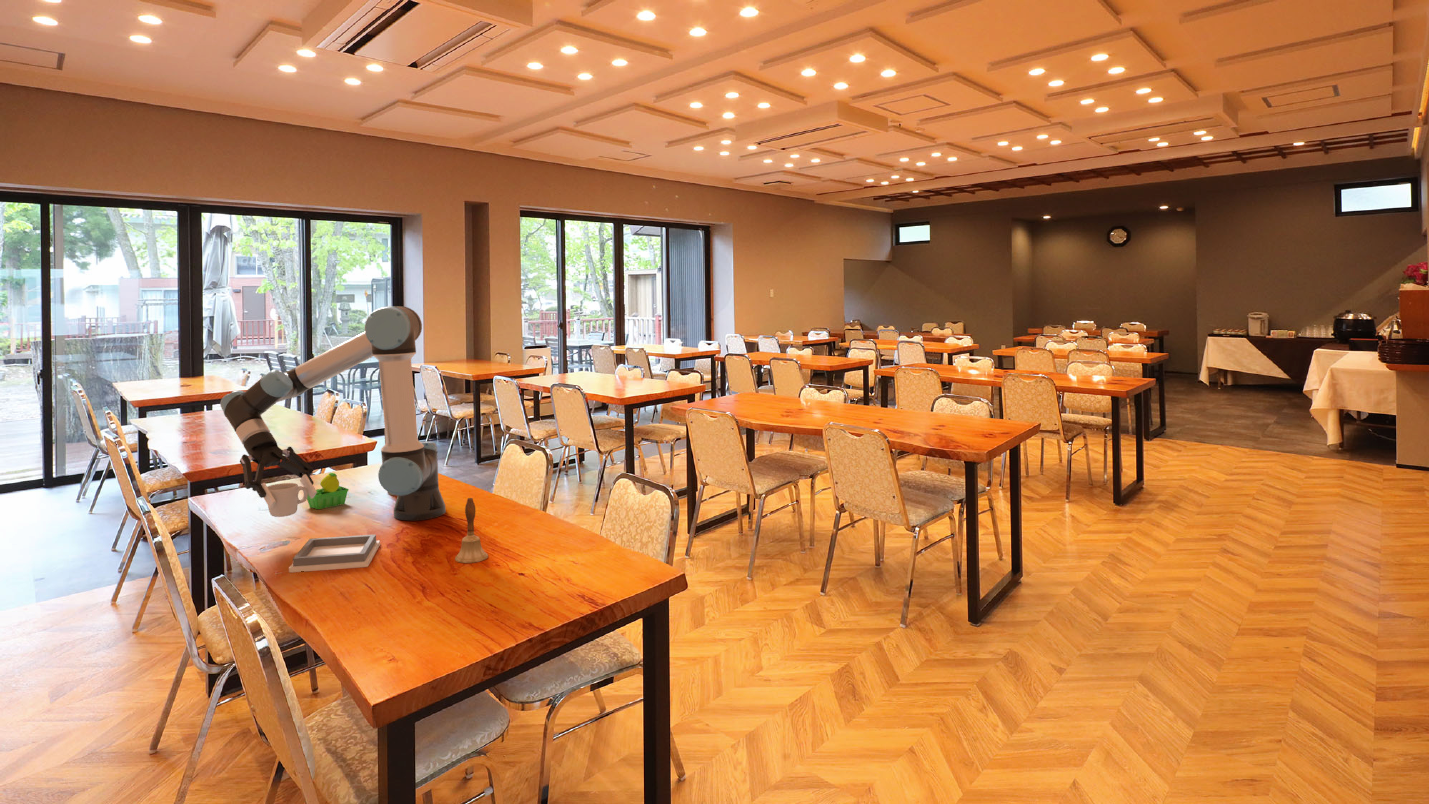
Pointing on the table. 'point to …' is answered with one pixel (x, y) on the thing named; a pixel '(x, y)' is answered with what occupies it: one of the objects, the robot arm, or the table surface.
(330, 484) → the fruit basket
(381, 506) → the table surface
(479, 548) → the hand bell
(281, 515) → the cup
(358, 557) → the gray rimmed square tray
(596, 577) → the table surface
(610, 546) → the table surface
